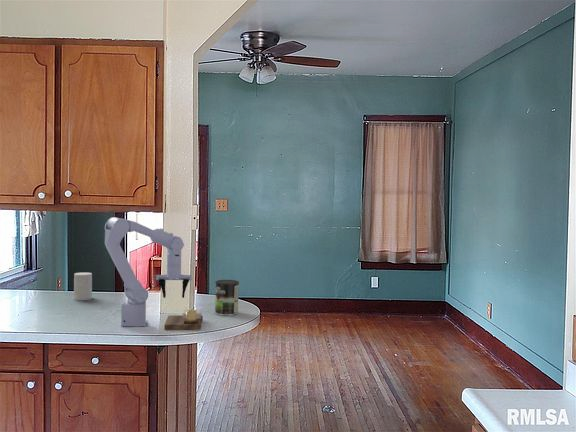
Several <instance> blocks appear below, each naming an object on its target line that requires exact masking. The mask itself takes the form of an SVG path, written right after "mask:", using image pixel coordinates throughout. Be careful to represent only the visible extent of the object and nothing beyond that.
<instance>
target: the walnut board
mask: <svg viewBox="0 0 576 432" xmlns="http://www.w3.org/2000/svg"><path fill="white" fill-rule="evenodd" d="M202 325H203V314H201V319H196V324H186V319H183V315H174V314H173V315H170V314H169V315H168V316H167V318H166V320H165V323H164V326H163V327H164V330H165V331H167V330H169V331H175V330H176V331H181V330H182V331H183V330H184V331H191V330H192V331H199V330H200V331H201V330H202Z"/></svg>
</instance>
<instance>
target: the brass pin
mask: <svg viewBox="0 0 576 432" xmlns="http://www.w3.org/2000/svg"><path fill="white" fill-rule="evenodd" d="M186 310H187V311H186V324H196V311H195V310H196V309H186Z"/></svg>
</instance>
